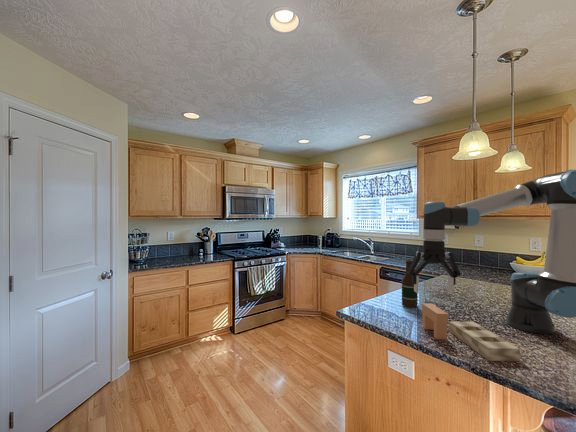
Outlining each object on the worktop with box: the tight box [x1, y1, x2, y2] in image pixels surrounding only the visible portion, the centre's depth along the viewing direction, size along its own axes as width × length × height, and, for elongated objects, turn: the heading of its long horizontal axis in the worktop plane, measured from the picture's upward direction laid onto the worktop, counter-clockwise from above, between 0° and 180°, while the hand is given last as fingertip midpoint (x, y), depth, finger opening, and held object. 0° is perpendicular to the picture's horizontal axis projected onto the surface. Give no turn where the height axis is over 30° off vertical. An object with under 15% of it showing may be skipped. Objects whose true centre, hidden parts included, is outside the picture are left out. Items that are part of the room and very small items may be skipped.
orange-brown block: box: [421, 303, 449, 340], centre depth 105 cm, size 12×4×10 cm, turn 178°
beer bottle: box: [401, 259, 419, 309], centre depth 138 cm, size 8×8×24 cm
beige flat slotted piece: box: [448, 321, 521, 362], centre depth 95 cm, size 10×22×4 cm, turn 178°
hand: (433, 292), depth 105 cm, fingers open, 13 cm apart
